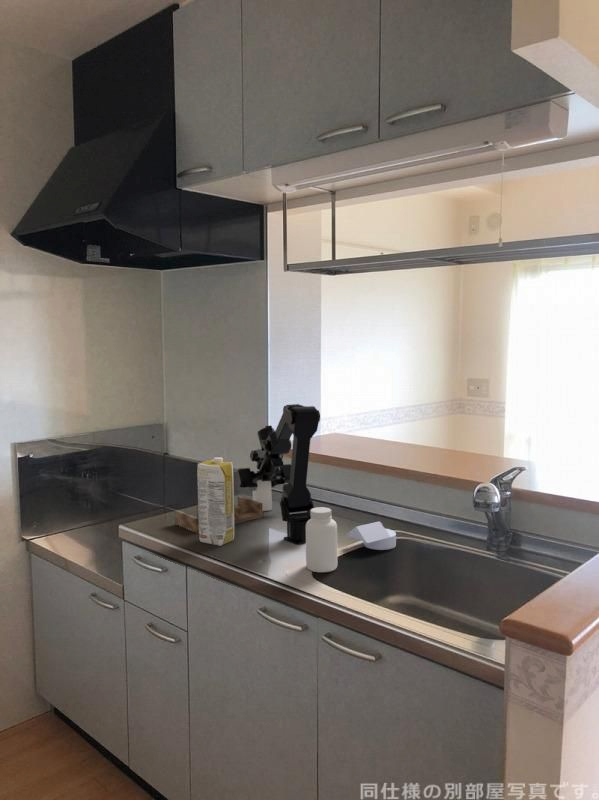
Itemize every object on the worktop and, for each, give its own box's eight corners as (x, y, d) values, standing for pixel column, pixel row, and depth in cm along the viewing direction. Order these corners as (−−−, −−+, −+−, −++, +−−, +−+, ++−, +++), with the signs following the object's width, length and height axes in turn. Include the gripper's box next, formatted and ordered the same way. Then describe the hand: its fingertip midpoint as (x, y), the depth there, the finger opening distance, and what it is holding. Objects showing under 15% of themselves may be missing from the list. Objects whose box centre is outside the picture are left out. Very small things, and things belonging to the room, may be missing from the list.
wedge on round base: (366, 555, 172) (402, 545, 180) (367, 530, 171) (402, 522, 179) (345, 546, 180) (380, 537, 187) (345, 522, 179) (381, 514, 186)
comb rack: (262, 516, 208) (262, 503, 207) (196, 533, 191) (195, 518, 191) (240, 509, 217) (240, 496, 216) (175, 524, 200) (174, 510, 200)
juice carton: (238, 539, 186) (236, 457, 183) (221, 547, 179) (219, 462, 176) (212, 534, 190) (210, 454, 188) (195, 542, 184) (192, 459, 181)
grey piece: (271, 510, 215) (270, 471, 214) (257, 512, 214) (256, 473, 212) (267, 506, 220) (266, 468, 219) (253, 508, 218) (252, 470, 217)
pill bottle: (299, 566, 164) (299, 509, 163) (323, 559, 169) (323, 503, 168) (319, 575, 158) (319, 516, 156) (343, 568, 163) (343, 510, 161)
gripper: (291, 440, 214) (280, 466, 225) (237, 444, 207) (229, 471, 219) (300, 468, 208) (289, 493, 219) (245, 473, 201) (236, 499, 212)
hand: (260, 488), depth 217 cm, fingers closed on grey piece, 5 cm apart
